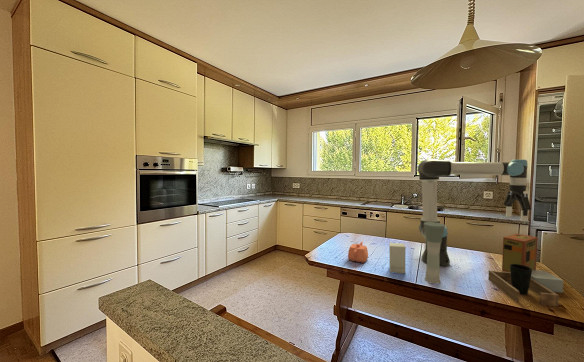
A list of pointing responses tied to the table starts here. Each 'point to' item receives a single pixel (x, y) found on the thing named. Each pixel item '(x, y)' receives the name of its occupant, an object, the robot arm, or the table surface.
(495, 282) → the walnut frame
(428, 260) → the container
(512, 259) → the box
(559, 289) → the slate plinth
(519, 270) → the cup
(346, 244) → the table surface
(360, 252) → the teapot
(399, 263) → the skincare box
